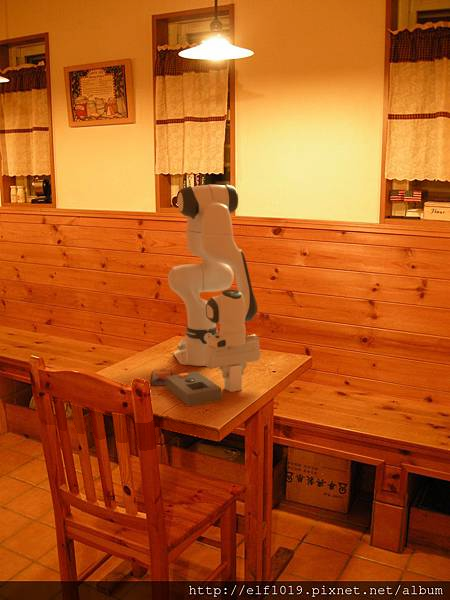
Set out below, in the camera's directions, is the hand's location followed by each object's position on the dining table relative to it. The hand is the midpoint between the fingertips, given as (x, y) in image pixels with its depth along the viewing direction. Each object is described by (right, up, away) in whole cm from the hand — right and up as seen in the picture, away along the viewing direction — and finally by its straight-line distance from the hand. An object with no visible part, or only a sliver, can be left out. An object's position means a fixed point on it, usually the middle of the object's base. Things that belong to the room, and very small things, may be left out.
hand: (233, 376), depth 215 cm
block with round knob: (0, -5, +1) cm, 5 cm away
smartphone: (-26, -3, +12) cm, 29 cm away
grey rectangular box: (-14, -6, -3) cm, 15 cm away
